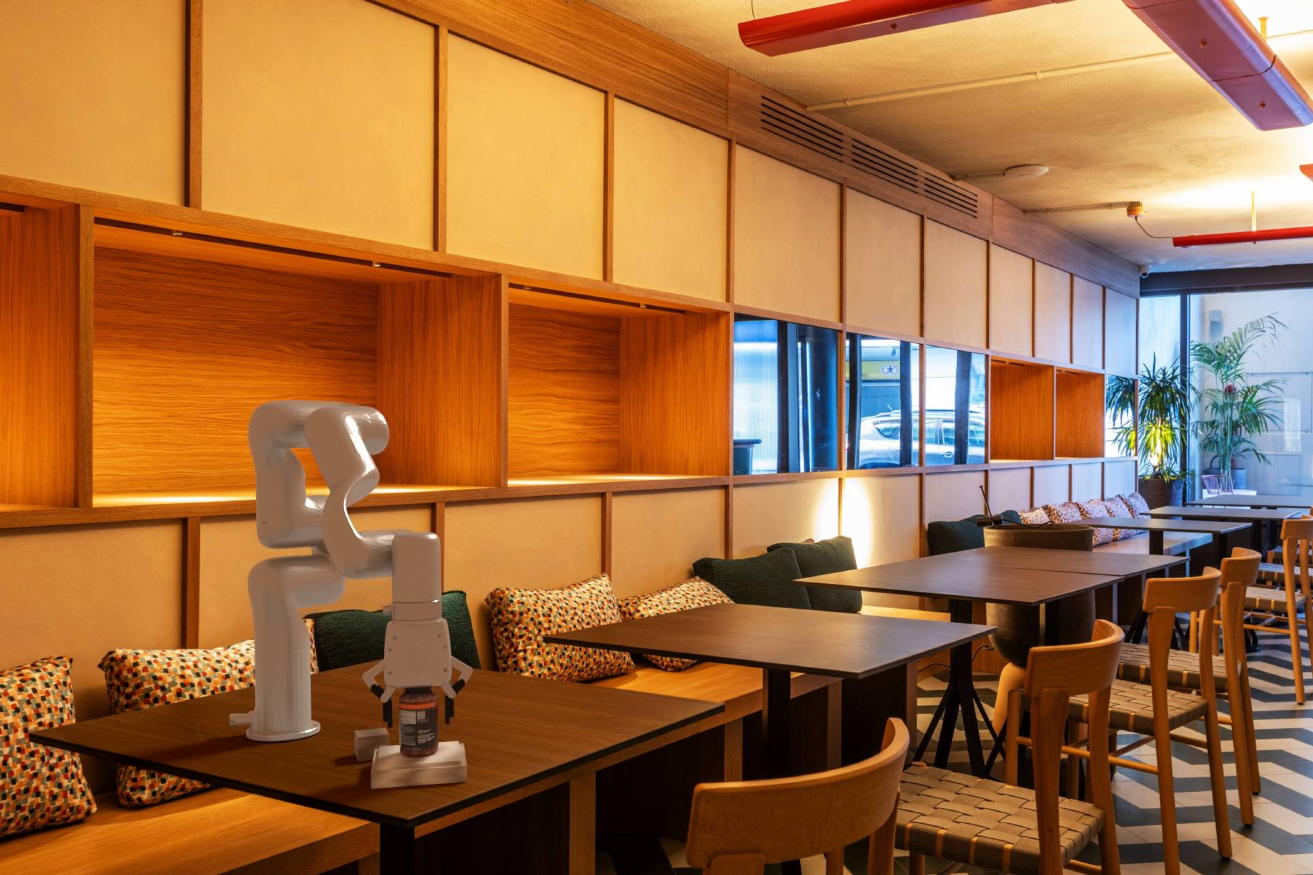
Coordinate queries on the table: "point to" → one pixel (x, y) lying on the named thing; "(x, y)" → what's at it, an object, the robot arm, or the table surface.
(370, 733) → the beige block
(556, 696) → the table surface
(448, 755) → the stand
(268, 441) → the robot arm
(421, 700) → the supplement bottle
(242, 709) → the table surface
